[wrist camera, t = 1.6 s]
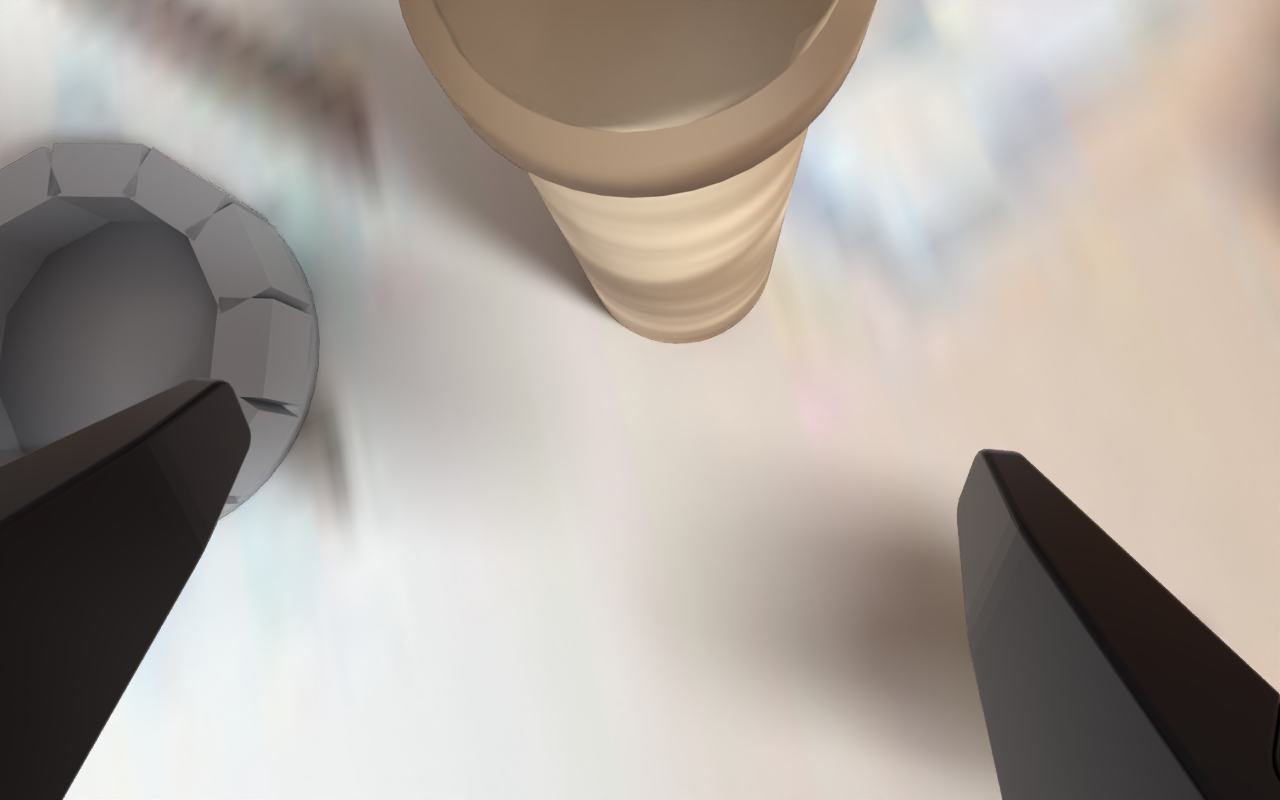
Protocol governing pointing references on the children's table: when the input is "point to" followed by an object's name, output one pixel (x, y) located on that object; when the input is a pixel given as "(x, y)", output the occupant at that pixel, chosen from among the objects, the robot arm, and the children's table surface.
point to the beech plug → (651, 131)
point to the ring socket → (144, 300)
